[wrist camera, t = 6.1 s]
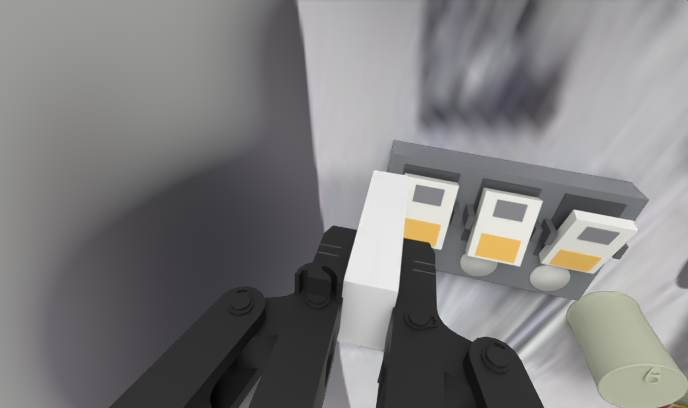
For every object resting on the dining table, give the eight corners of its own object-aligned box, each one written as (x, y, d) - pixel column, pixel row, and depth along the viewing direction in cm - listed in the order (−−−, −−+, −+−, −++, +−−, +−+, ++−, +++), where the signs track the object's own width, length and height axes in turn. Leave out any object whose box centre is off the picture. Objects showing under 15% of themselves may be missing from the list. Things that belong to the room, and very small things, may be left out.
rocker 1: (405, 172, 41) (405, 176, 39) (457, 182, 40) (459, 186, 39) (391, 234, 44) (391, 239, 42) (440, 244, 43) (441, 250, 42)
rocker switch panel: (393, 140, 44) (389, 163, 38) (631, 182, 41) (663, 214, 36) (374, 239, 53) (367, 270, 47) (568, 279, 50) (586, 317, 44)
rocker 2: (573, 209, 37) (577, 220, 36) (633, 220, 37) (639, 231, 36) (538, 253, 43) (541, 264, 42) (590, 264, 42) (593, 274, 41)
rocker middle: (483, 187, 40) (486, 191, 39) (538, 197, 39) (543, 201, 38) (465, 250, 42) (467, 256, 41) (516, 261, 42) (520, 266, 40)
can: (650, 295, 49) (708, 375, 39) (624, 338, 54) (670, 419, 44) (577, 287, 50) (615, 362, 40) (558, 329, 55) (588, 406, 45)
